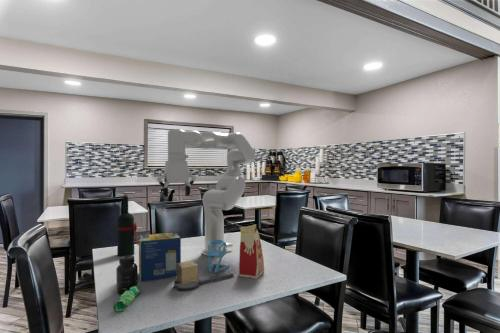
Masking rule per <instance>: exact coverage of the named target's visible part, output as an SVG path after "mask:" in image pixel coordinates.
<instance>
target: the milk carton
mask: <svg viewBox="0 0 500 333" xmlns="http://www.w3.org/2000/svg"><path fill="white" fill-rule="evenodd" d="M238 228H239V229H240V240H239V255H238V256H239V257H238V258H239V259H238V260H239V262H238V277H243V278H250V277H251V279H256V280H257V279H258V278H259V277H260V276H261V275H262V274H263V273H264V272H265V262H264V255H263V249H262V243H261V242H262V241H261V238H260V233H259V231H258V228H257V224H252V225H248V226H242V227H241V226H240V227H238Z"/></svg>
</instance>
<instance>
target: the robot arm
mask: <svg viewBox="0 0 500 333" xmlns="http://www.w3.org/2000/svg"><path fill="white" fill-rule="evenodd" d="M186 149H204V150H229V151H228V152H227V156H226V161H227V168H226V170H225V172H224V173H223V174H222V175H221V176H220V177H219V179H218V180H217V182H216V185H215V189H209V190H207V191H205V192H204V193H203V196H202V205H203V211H204V248H203V249H202V250H201V254H203V255H204V256H206V254H207V253H208V251H209V250H208V244H209V242H211V241H214V240H222V241H224V242H225V232H224V231H225V230H224V229H225V227H224V226H225V225H224V224H225V222H224V221H225V218H224V214H223V211H229V210H232V209H233V208H234V207H235V205H236V204H237V203H238V202H239V200H240V199H241V197H242V196H243V195H244V192H245V191H246V181H245V179H244V178H243V176H242V170H241V167H240V165H247V164H252V163H254V162H255V160H256V153H255V150H254V148H253V147H252V146H251V144H250V142H249V141H248V140H247V138H246V137H245V136H244V135H243V134H242V133H241V132H230V133H229V132H227V133H225V132H217V131H216V132H215V131H207V132H204V131H203V132H199V131H197V130H191V129H190V130H183V129H177V128H176V129H175V128H173V129H169V130H168V131H167V160H165V162H164V163H165V164H164V172H163V174H162V175H159V176H158V177H156V180H157V182H158V184H159V186H161V187H162V195H163V196H164V198H168V197H169V188H168V187H169V185H170V184H184V185H185V189H184V190H185V192H184V193H185V196H187V197H189V196H190V194H191V187H192V185H193V184H194V182H195V180H196V176H194V175H192V174H191V173H190V171H189V164H188V161H187V160H186V159H188V158H189V155H188V154H187V153H186ZM162 179H163V180H162ZM189 180H190V181H189ZM163 181H164V182H163ZM219 246H220V244H215V250H219ZM223 247H224V245H223V246H222V247H221V249H220V251H223ZM232 247H233V243H232V242H229V243H228V242H226V246H225V251H227V252H228V248H232ZM209 248H210V252H211V251H212V250H213V249H214V246H213V244H211V245H210V247H209Z"/></svg>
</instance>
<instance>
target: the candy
mask: <svg viewBox="0 0 500 333" xmlns="http://www.w3.org/2000/svg"><path fill="white" fill-rule="evenodd" d="M140 292H141V288H140V287H139V286H132V287H131V288H130V290H129V291H125V292H124V293H123V294H122V295H120V298H119V300H118V301H116V302H114V304H113V306H112V309H113V310H114V312H115V313H117V312H120V311H121V312H122V313H123V312H124V311H125V309H126V307H129V306H130V305H131V304H132V303H133V302H134V300H135V298H136V296H138V295H139V294H140Z"/></svg>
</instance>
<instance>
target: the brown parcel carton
mask: <svg viewBox="0 0 500 333" xmlns="http://www.w3.org/2000/svg"><path fill="white" fill-rule="evenodd" d="M198 278H199V265H198V263H196V262H194V261H193V260H188V261H183V262H182V261H181V263H177V264H176V277H175V280H177V281H178V282H179V283H180V284H181V285H186V284H190V283H195V282H198Z"/></svg>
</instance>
